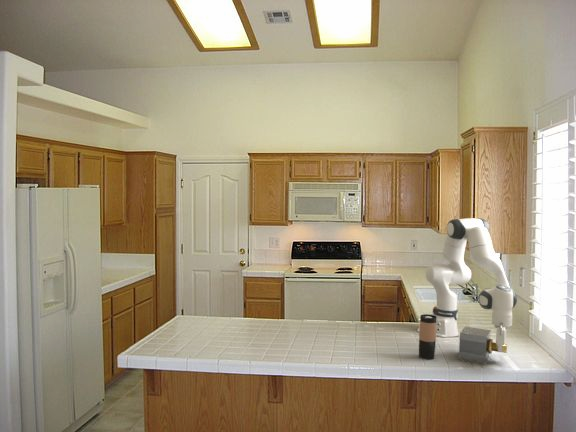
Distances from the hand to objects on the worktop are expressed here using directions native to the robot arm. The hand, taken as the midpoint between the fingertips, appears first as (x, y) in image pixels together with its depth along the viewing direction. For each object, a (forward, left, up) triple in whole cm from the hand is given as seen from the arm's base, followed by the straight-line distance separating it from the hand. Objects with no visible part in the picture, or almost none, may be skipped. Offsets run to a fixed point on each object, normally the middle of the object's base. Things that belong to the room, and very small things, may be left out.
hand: (500, 349), depth 250 cm
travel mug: (-31, -12, -6) cm, 34 cm away
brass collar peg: (-5, 0, -3) cm, 6 cm away
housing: (-11, 0, -6) cm, 13 cm away
